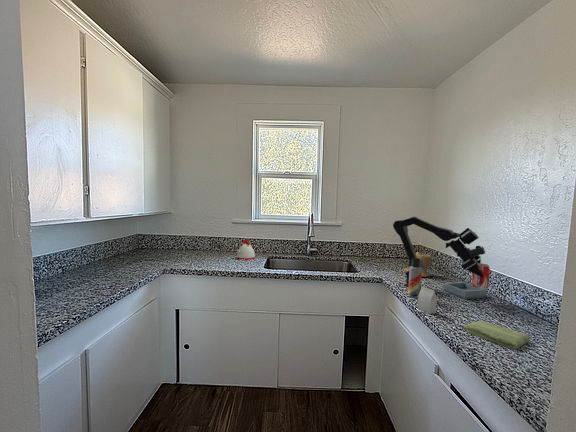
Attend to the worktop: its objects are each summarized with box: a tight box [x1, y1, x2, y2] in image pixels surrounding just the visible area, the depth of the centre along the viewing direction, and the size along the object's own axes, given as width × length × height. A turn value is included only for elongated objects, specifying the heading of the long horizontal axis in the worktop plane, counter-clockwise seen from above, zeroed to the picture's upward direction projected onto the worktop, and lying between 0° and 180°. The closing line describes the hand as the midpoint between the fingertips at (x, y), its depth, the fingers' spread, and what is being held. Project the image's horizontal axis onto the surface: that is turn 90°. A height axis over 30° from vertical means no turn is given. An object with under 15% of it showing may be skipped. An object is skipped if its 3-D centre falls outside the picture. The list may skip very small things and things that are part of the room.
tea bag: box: [417, 286, 438, 315], centre depth 132 cm, size 4×7×10 cm, turn 24°
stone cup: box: [403, 251, 432, 278], centre depth 193 cm, size 15×12×15 cm
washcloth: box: [463, 320, 531, 350], centre depth 108 cm, size 13×18×3 cm
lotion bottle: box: [407, 258, 422, 299], centre depth 150 cm, size 6×6×20 cm
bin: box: [443, 281, 488, 300], centre depth 157 cm, size 14×14×4 cm
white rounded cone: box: [236, 238, 256, 261], centre depth 230 cm, size 14×14×15 cm
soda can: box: [471, 263, 491, 290], centre depth 145 cm, size 7×7×12 cm
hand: (484, 275), depth 144 cm, fingers closed on soda can, 7 cm apart
